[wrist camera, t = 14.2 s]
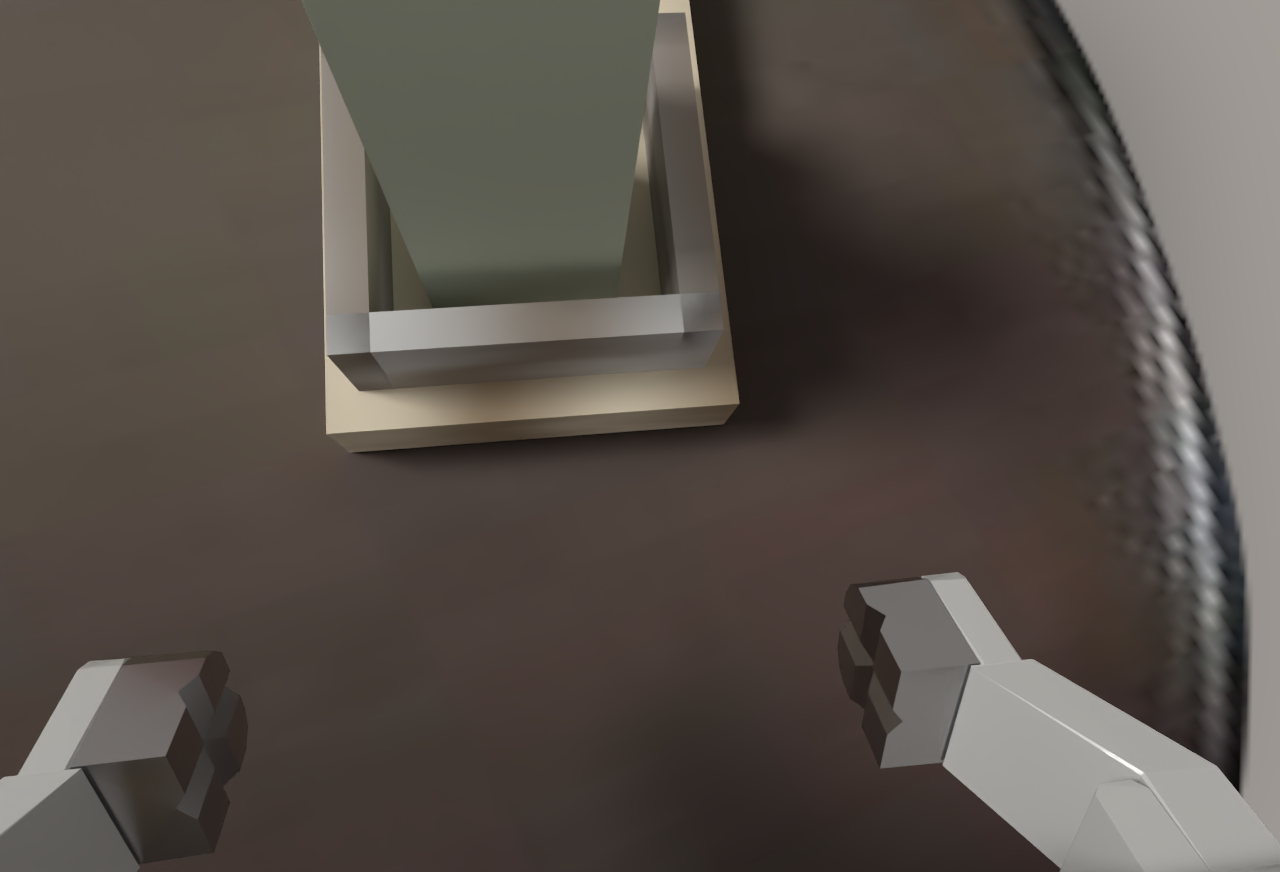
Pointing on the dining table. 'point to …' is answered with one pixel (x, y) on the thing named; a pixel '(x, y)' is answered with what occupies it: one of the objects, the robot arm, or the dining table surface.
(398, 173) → the block
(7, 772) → the dining table surface
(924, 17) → the dining table surface
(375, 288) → the cream peg holder
